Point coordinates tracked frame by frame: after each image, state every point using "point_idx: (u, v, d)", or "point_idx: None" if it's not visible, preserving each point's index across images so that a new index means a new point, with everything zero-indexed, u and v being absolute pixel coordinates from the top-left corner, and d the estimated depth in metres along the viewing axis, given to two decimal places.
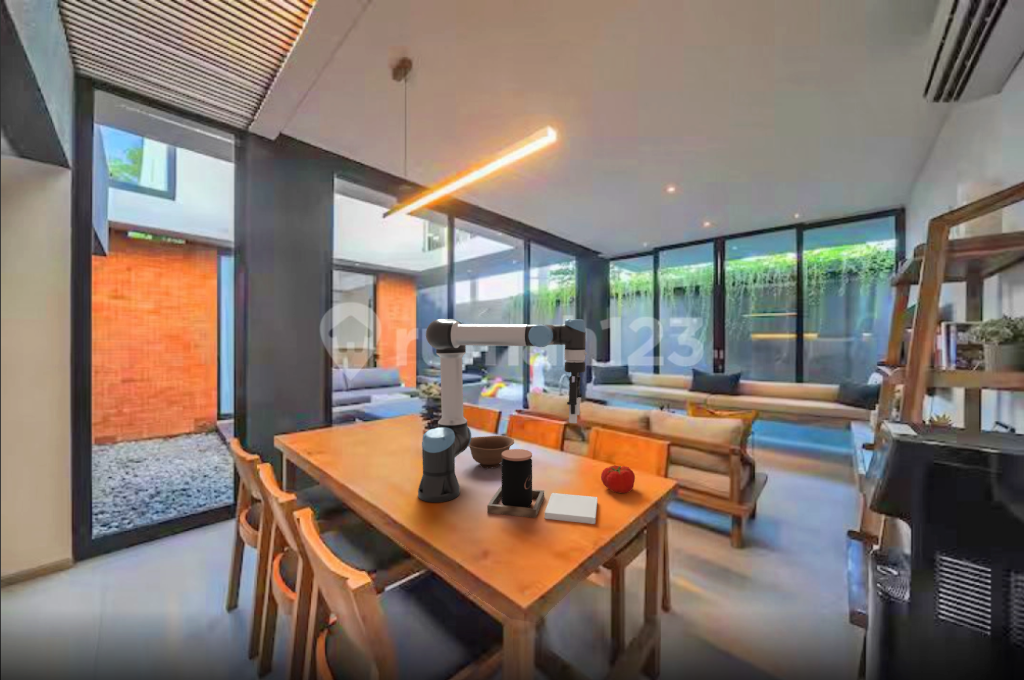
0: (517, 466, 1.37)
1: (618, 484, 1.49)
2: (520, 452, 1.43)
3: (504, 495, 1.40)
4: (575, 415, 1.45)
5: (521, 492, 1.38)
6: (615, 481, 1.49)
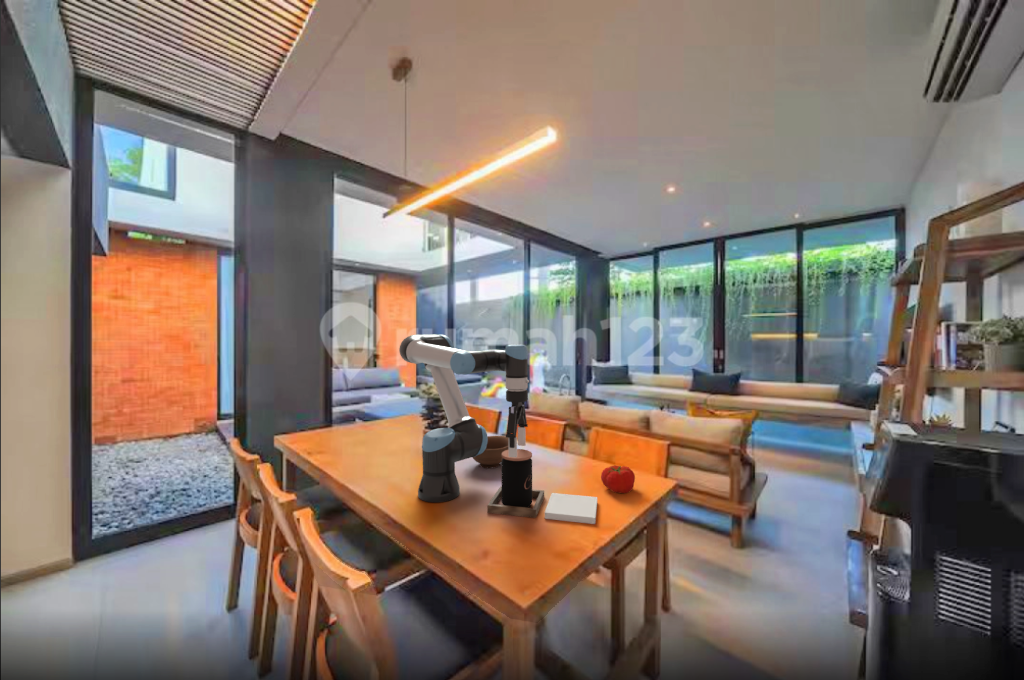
0: (517, 466, 1.37)
1: (618, 484, 1.49)
2: (520, 452, 1.43)
3: (504, 495, 1.40)
4: (515, 449, 1.35)
5: (521, 492, 1.38)
6: (615, 481, 1.49)
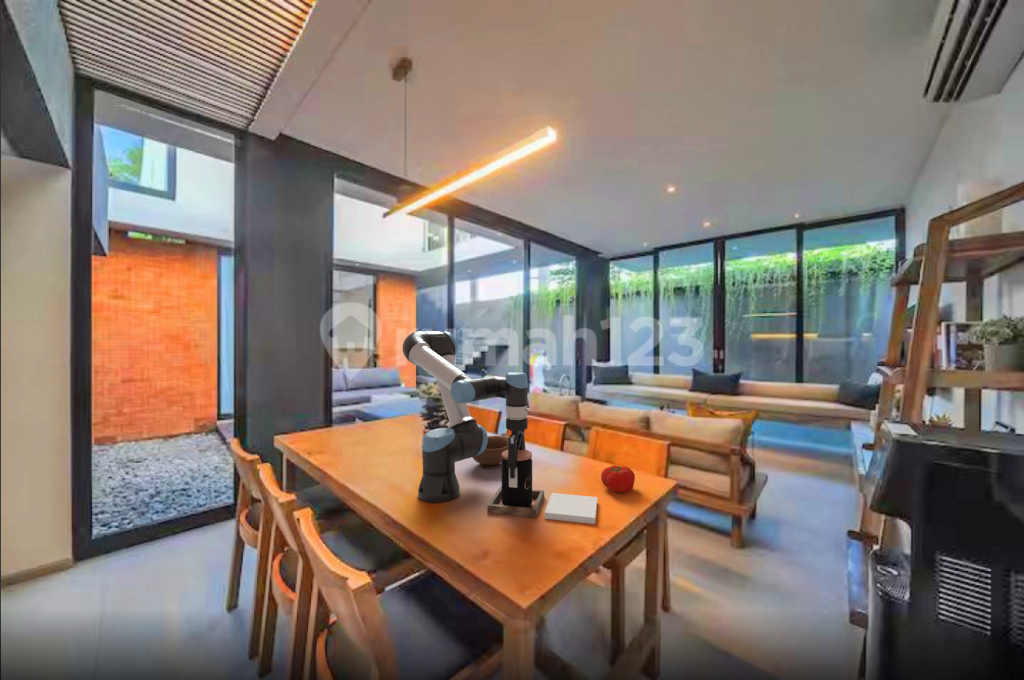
0: (517, 466, 1.37)
1: (618, 484, 1.49)
2: (520, 452, 1.43)
3: (504, 495, 1.40)
4: (515, 479, 1.37)
5: (521, 492, 1.38)
6: (615, 481, 1.49)
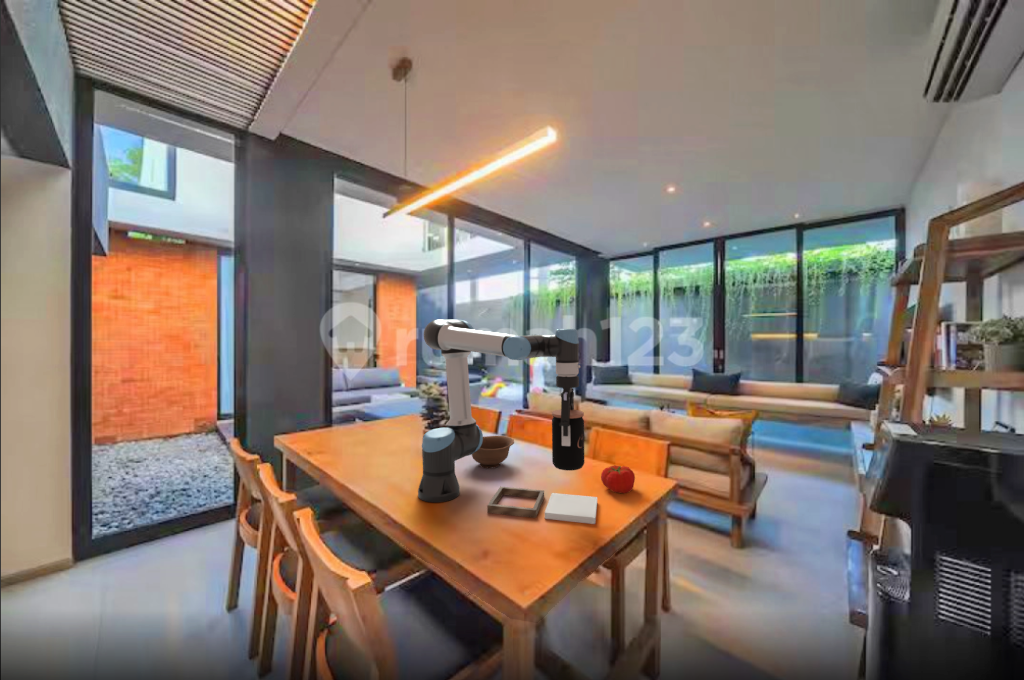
0: (570, 424, 1.32)
1: (618, 484, 1.49)
2: (571, 411, 1.38)
3: (556, 454, 1.35)
4: (568, 437, 1.32)
5: (575, 451, 1.33)
6: (615, 481, 1.49)
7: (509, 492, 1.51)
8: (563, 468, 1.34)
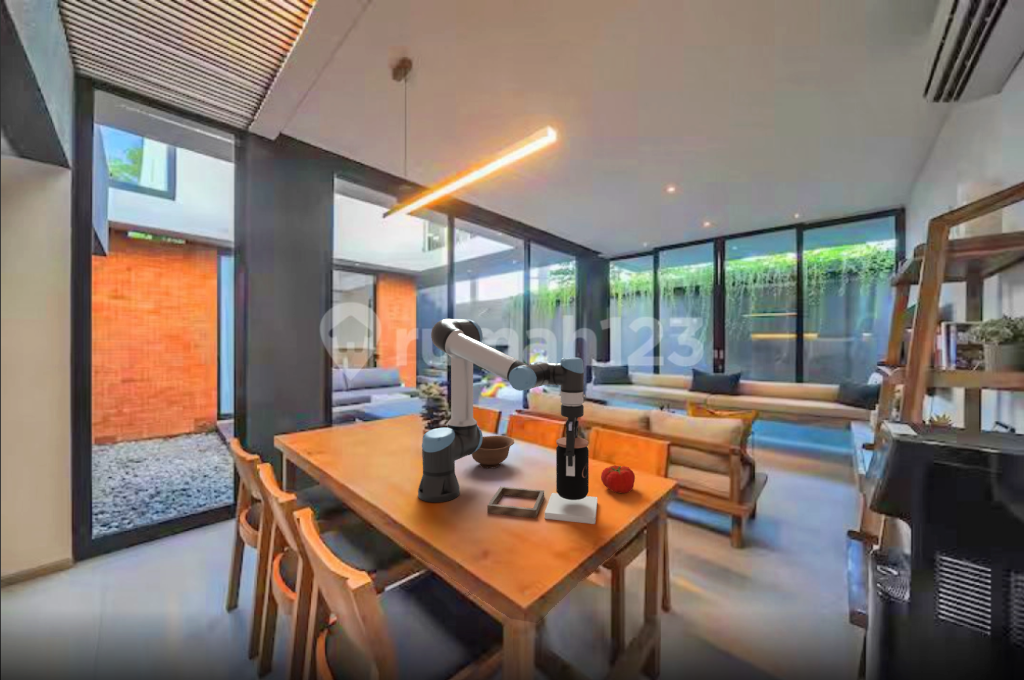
0: None
1: (618, 484, 1.49)
2: (575, 440, 1.39)
3: (561, 484, 1.35)
4: (573, 467, 1.32)
5: (579, 481, 1.33)
6: (615, 481, 1.49)
7: (509, 492, 1.51)
8: (567, 497, 1.34)
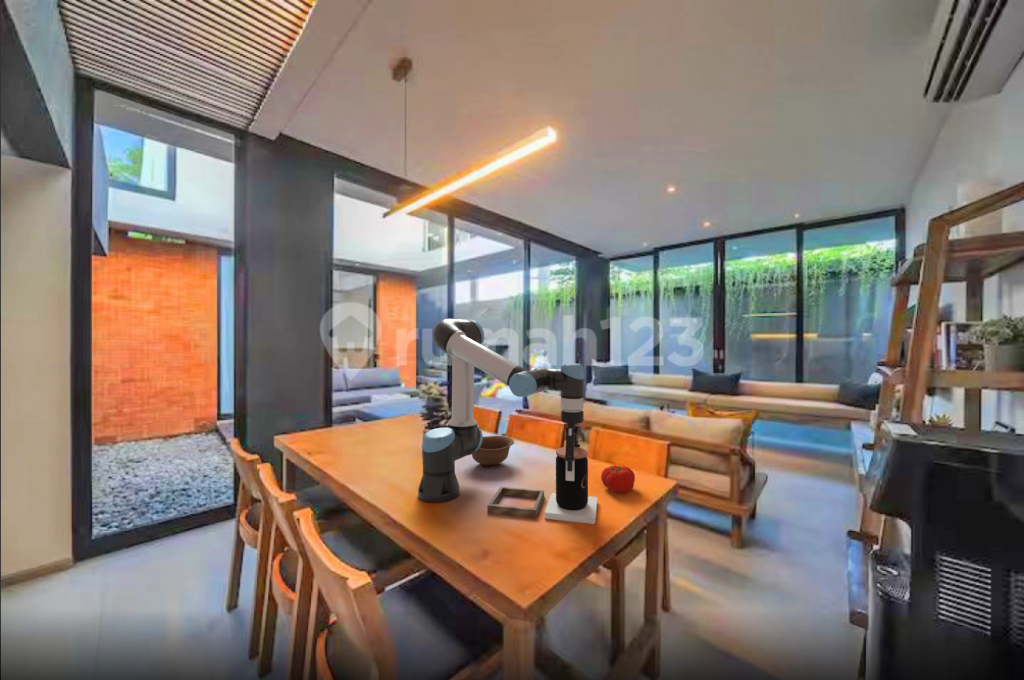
0: (574, 464, 1.33)
1: (618, 484, 1.49)
2: (574, 450, 1.39)
3: (560, 494, 1.35)
4: (572, 472, 1.31)
5: (579, 491, 1.33)
6: (615, 481, 1.49)
7: (509, 492, 1.51)
8: (567, 508, 1.34)
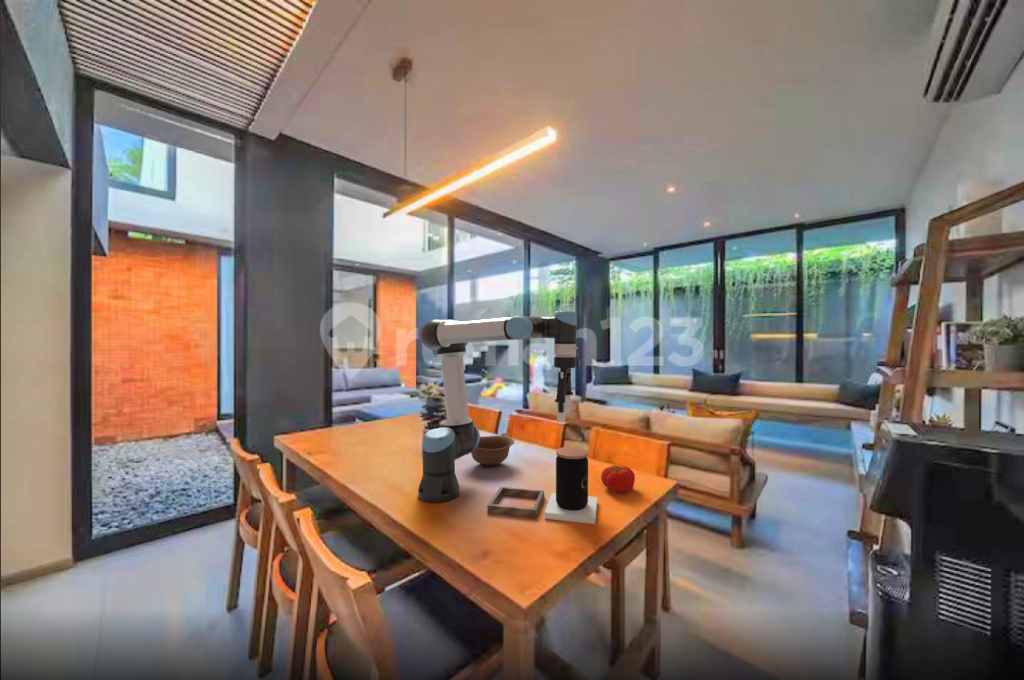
0: (574, 464, 1.33)
1: (618, 484, 1.49)
2: (575, 450, 1.39)
3: (560, 494, 1.35)
4: (563, 413, 1.35)
5: (579, 491, 1.33)
6: (615, 481, 1.49)
7: (509, 492, 1.51)
8: (567, 508, 1.34)
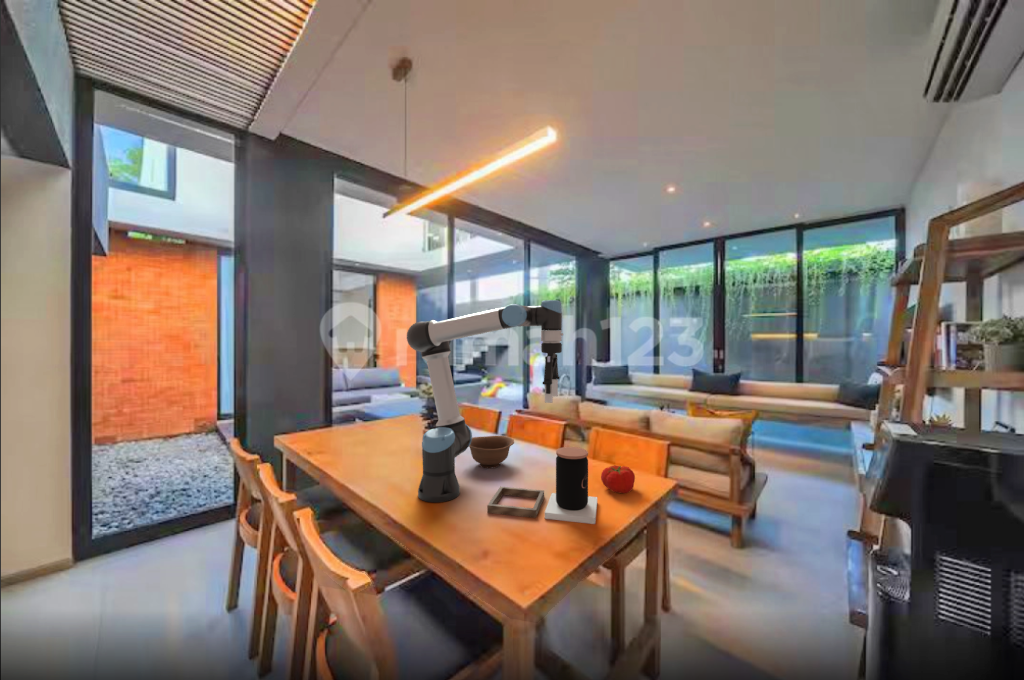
0: (574, 464, 1.33)
1: (618, 484, 1.49)
2: (575, 450, 1.39)
3: (560, 494, 1.35)
4: (551, 395, 1.46)
5: (579, 491, 1.33)
6: (615, 481, 1.49)
7: (509, 492, 1.51)
8: (567, 508, 1.34)
